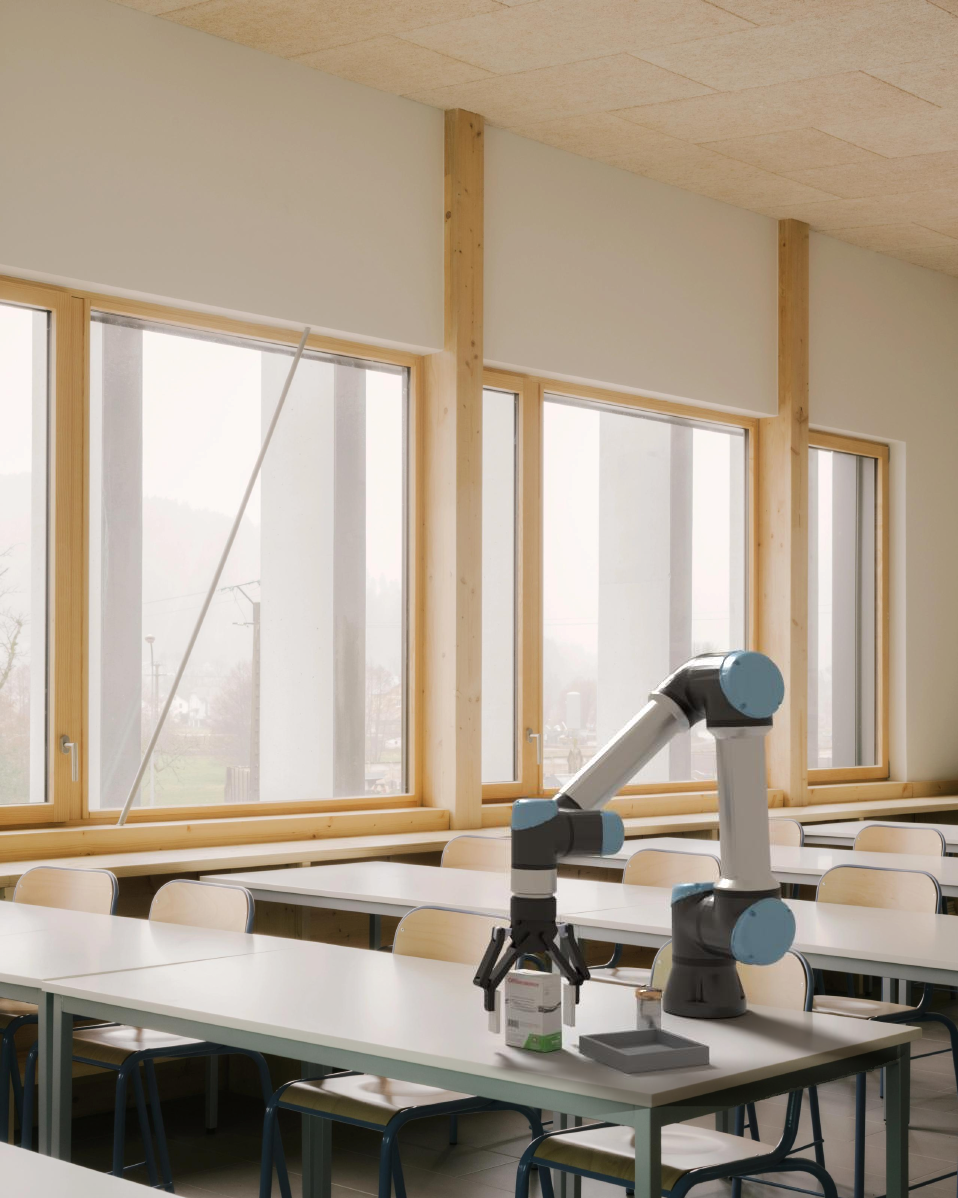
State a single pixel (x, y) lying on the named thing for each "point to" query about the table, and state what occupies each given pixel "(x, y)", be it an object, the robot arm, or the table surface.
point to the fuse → (648, 1007)
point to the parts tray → (643, 1050)
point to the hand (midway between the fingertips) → (532, 1029)
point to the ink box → (533, 1010)
